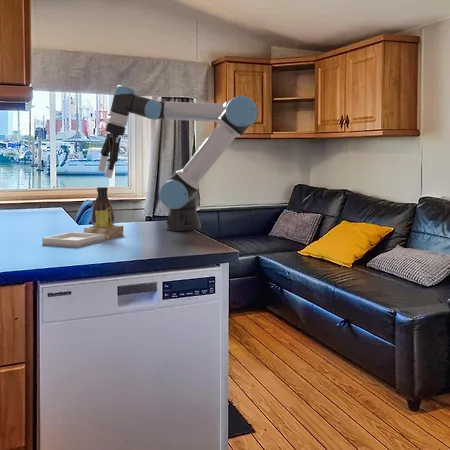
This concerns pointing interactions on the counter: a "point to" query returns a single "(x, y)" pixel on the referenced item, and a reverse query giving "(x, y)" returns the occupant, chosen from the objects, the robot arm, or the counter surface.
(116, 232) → the oak holder
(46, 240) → the grey tray
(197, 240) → the counter surface
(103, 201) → the sauce bottle
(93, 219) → the black bullet shaped dome
